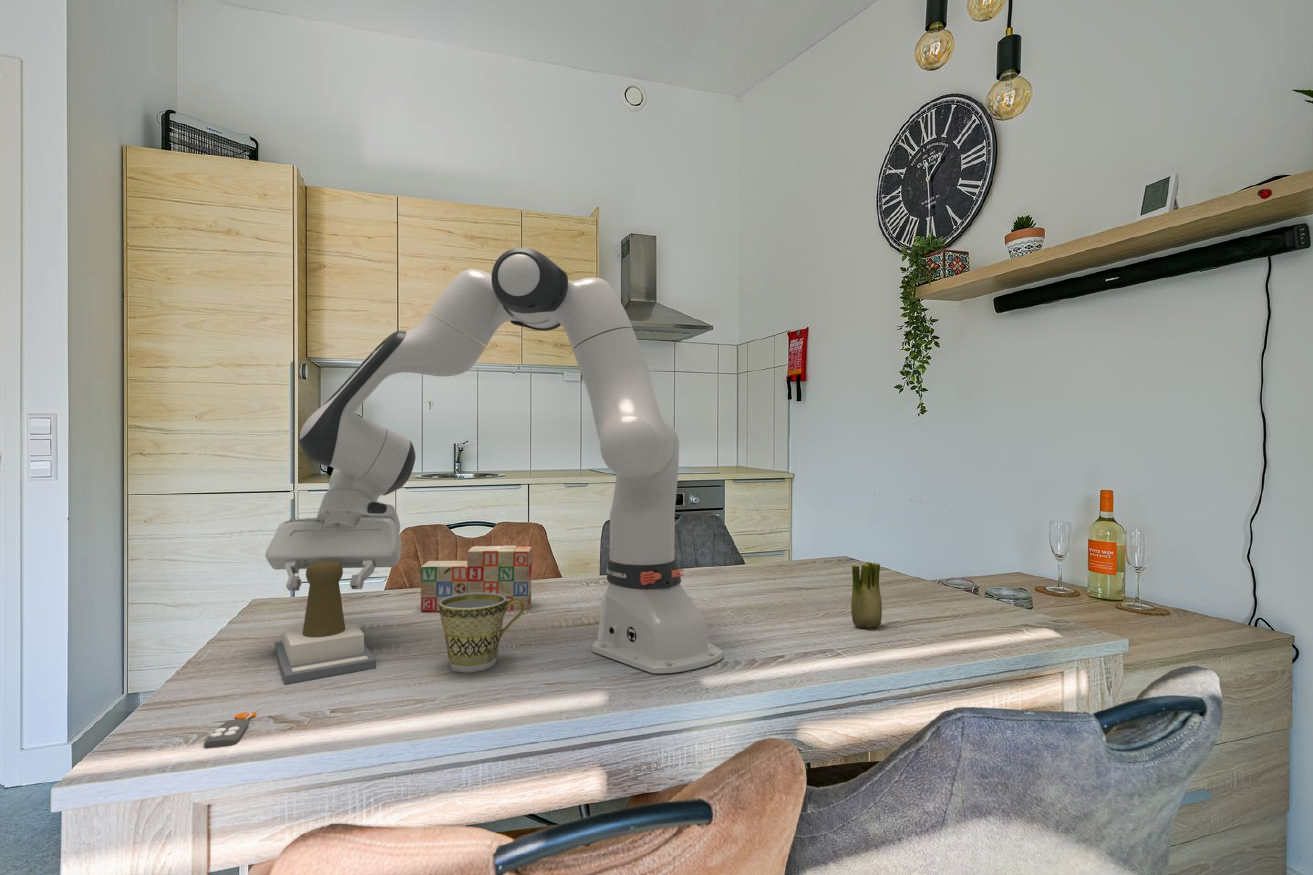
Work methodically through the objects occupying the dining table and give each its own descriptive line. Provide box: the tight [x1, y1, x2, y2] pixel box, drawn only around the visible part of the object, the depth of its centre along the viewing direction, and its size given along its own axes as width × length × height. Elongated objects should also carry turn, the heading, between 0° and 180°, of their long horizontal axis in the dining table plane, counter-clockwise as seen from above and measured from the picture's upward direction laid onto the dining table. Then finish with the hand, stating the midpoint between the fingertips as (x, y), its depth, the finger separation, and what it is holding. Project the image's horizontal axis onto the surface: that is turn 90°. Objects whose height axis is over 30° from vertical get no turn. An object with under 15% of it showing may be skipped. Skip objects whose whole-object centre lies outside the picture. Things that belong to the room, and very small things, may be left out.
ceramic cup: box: [439, 592, 525, 674], centre depth 101 cm, size 13×10×10 cm
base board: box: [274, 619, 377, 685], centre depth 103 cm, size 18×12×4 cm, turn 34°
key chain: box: [203, 706, 265, 749], centre depth 80 cm, size 13×4×2 cm, turn 15°
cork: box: [302, 561, 345, 637], centre depth 103 cm, size 6×6×11 cm
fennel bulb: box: [850, 561, 883, 630], centre depth 122 cm, size 6×5×12 cm
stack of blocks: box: [420, 545, 533, 612], centre depth 134 cm, size 21×6×12 cm, turn 95°
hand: (324, 588), depth 103 cm, fingers open, 8 cm apart
